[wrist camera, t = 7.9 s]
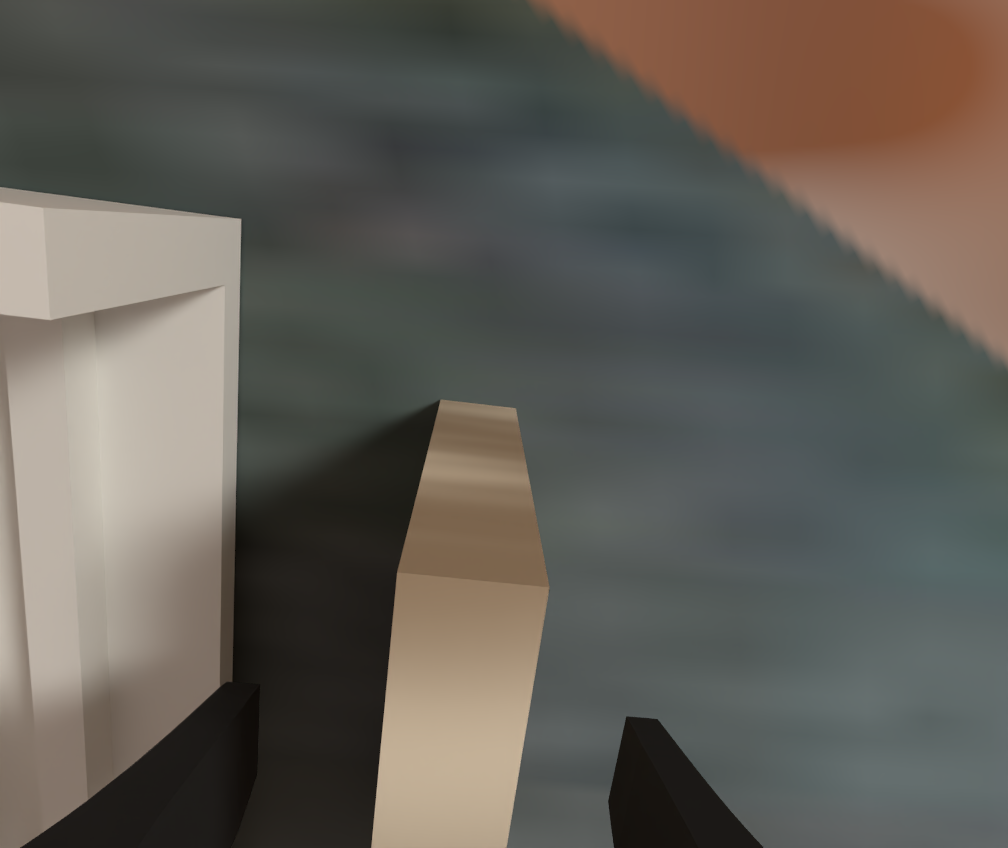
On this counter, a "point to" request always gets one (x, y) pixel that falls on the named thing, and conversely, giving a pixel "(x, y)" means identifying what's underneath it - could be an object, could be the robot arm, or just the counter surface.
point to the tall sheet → (462, 639)
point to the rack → (110, 488)
